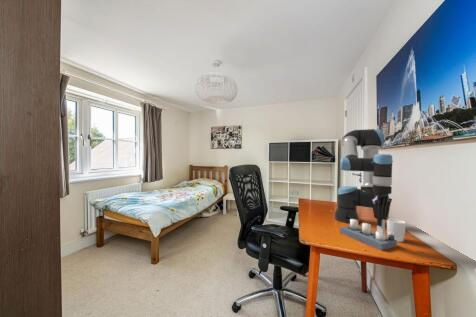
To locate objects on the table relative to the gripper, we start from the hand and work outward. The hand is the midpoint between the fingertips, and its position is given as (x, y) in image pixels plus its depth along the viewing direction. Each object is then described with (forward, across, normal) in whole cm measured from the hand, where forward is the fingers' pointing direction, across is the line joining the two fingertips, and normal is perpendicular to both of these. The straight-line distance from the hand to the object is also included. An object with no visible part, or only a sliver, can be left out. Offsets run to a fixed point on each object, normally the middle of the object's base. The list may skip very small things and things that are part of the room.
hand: (380, 232), depth 95 cm
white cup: (+7, -15, -1) cm, 17 cm away
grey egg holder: (+6, 0, -7) cm, 10 cm away
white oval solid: (+3, 0, -7) cm, 8 cm away
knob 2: (+5, 0, 0) cm, 5 cm away
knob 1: (+3, 0, -14) cm, 14 cm away
